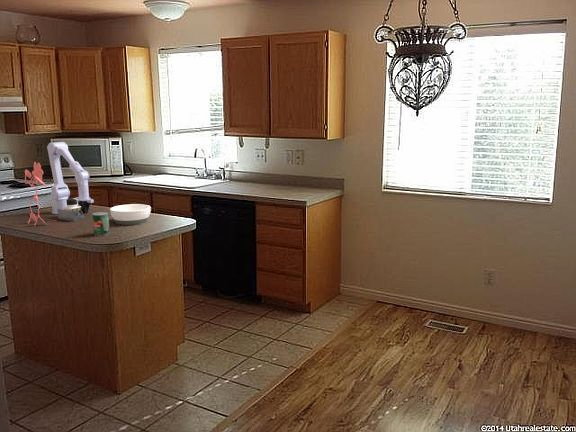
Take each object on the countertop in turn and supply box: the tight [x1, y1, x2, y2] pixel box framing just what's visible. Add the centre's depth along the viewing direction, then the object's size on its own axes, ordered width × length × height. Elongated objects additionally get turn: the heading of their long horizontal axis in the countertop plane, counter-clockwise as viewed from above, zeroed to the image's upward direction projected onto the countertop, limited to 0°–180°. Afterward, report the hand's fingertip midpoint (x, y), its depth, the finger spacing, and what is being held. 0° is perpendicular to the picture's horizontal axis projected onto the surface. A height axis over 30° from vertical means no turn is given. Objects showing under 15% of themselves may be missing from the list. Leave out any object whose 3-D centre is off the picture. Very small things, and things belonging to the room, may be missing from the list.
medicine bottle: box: [64, 197, 83, 216], centre depth 315 cm, size 7×7×12 cm
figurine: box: [24, 161, 56, 227], centre depth 302 cm, size 15×26×35 cm, turn 47°
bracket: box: [57, 209, 86, 223], centre depth 314 cm, size 14×9×6 cm, turn 60°
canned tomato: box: [91, 211, 111, 237], centre depth 278 cm, size 8×8×11 cm
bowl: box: [109, 203, 152, 226], centre depth 307 cm, size 22×22×8 cm
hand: (85, 213), depth 323 cm, fingers closed
